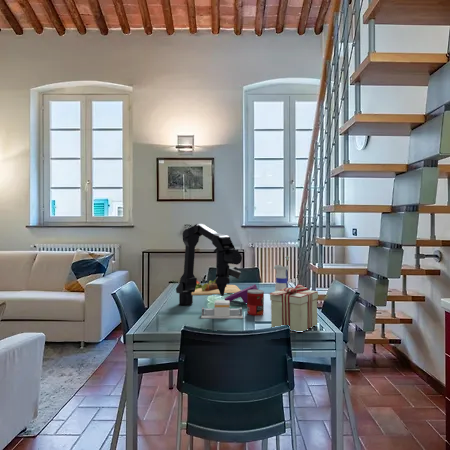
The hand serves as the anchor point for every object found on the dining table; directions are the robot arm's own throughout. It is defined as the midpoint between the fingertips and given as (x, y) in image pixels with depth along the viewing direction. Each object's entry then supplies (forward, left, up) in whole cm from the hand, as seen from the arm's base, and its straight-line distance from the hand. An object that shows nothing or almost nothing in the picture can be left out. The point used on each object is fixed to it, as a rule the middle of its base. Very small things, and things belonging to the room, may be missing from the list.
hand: (222, 295), depth 181 cm
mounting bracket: (+10, +28, -10) cm, 31 cm away
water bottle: (+33, +33, -10) cm, 48 cm away
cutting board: (-6, +60, -10) cm, 61 cm away
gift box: (+29, -17, -10) cm, 35 cm away
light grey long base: (0, 0, -9) cm, 9 cm away
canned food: (+16, +4, -10) cm, 19 cm away
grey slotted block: (0, 0, -9) cm, 9 cm away
